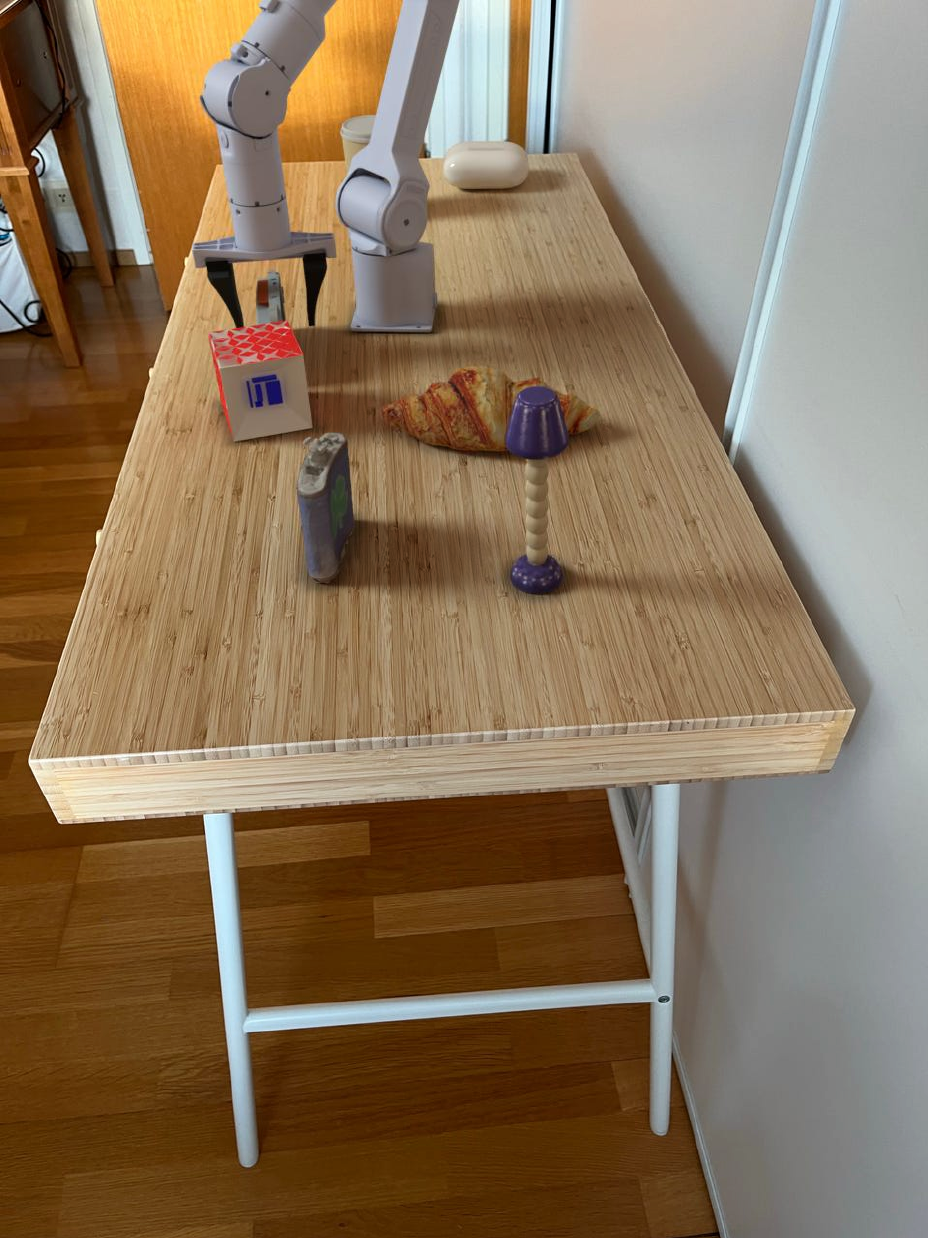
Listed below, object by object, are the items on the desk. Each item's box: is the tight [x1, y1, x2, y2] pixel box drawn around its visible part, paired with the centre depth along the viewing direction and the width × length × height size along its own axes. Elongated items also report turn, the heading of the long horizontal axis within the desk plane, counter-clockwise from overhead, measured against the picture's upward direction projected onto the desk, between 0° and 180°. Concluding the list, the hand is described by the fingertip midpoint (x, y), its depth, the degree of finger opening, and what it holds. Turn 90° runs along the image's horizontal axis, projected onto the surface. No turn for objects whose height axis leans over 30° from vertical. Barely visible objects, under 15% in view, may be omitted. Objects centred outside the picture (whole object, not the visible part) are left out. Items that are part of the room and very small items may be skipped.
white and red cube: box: [207, 320, 314, 443], centre depth 98 cm, size 8×8×8 cm
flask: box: [295, 432, 356, 584], centre depth 80 cm, size 9×3×11 cm, turn 172°
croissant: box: [381, 365, 601, 452], centre depth 96 cm, size 21×10×8 cm, turn 92°
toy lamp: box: [505, 386, 570, 595], centre depth 75 cm, size 5×5×17 cm
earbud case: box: [442, 140, 530, 190], centre depth 151 cm, size 10×13×5 cm
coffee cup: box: [339, 114, 390, 183], centre depth 140 cm, size 9×9×12 cm
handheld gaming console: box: [255, 269, 287, 325], centre depth 108 cm, size 14×3×8 cm, turn 9°
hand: (276, 325), depth 108 cm, fingers open, 7 cm apart
